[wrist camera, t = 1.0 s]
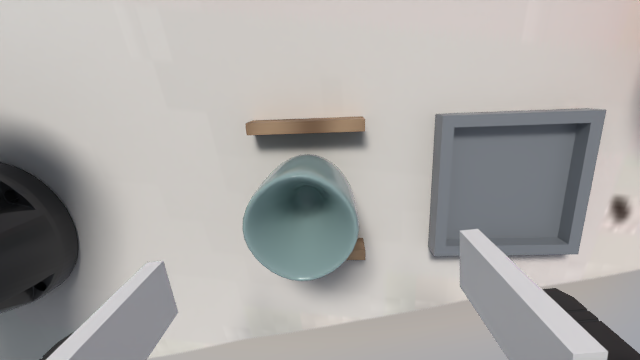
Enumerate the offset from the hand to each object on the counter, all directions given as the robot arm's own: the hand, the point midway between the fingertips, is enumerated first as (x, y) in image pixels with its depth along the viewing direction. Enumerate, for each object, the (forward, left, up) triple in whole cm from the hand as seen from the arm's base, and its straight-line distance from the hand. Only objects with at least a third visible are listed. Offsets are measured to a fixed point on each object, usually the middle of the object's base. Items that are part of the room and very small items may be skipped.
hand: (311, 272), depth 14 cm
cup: (-1, -1, -17) cm, 17 cm away
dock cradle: (+17, -1, -17) cm, 24 cm away
